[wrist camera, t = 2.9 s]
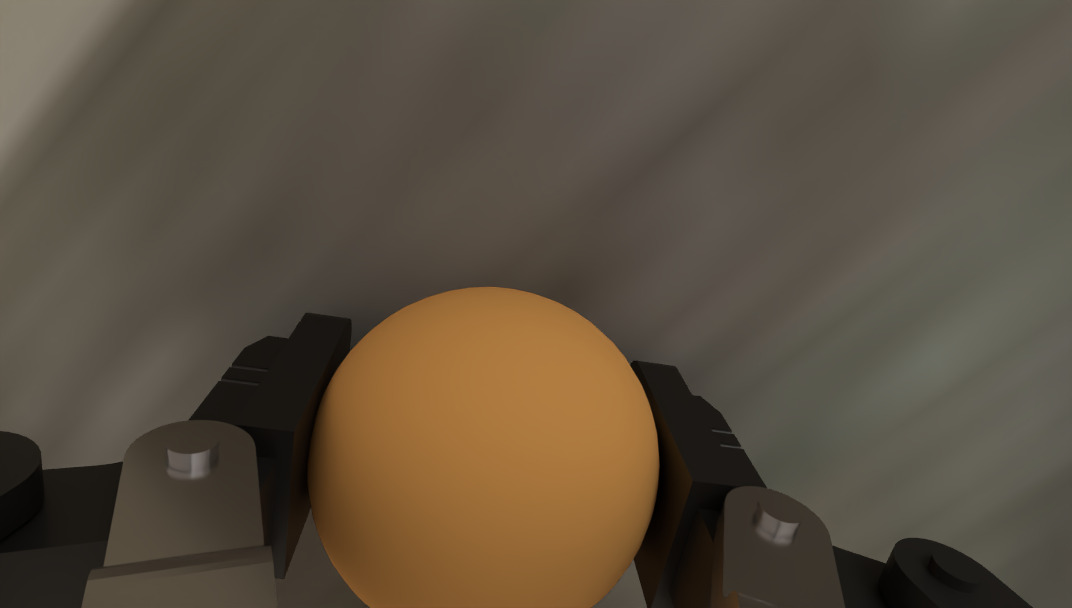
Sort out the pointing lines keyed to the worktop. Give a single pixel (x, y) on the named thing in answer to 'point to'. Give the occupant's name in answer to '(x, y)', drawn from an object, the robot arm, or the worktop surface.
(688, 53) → the worktop surface
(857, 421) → the worktop surface
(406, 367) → the ball
